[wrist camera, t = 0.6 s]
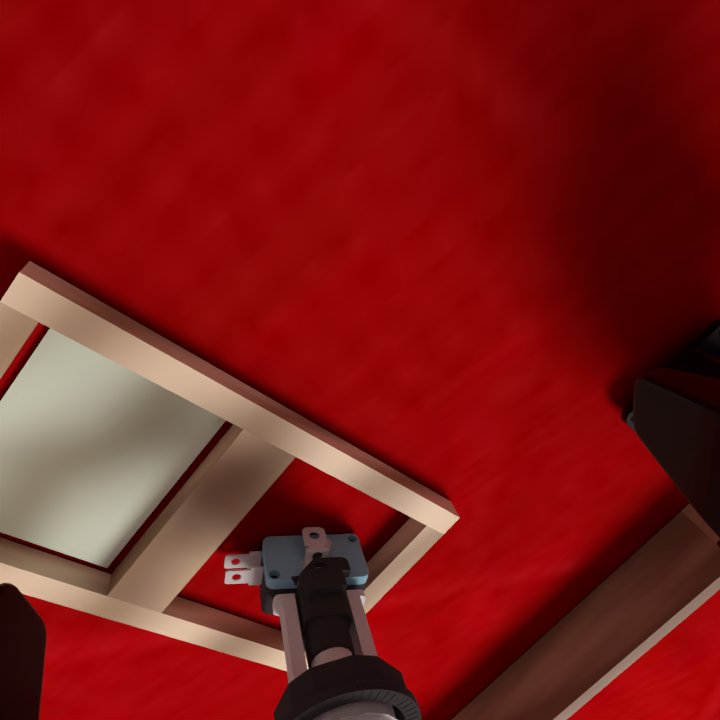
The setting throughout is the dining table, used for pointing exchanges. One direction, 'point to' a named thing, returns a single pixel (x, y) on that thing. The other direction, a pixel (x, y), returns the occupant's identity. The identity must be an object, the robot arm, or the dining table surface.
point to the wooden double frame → (155, 470)
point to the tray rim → (608, 627)
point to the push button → (324, 628)
